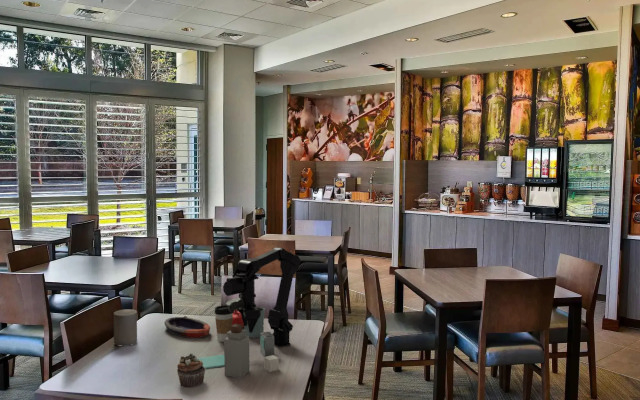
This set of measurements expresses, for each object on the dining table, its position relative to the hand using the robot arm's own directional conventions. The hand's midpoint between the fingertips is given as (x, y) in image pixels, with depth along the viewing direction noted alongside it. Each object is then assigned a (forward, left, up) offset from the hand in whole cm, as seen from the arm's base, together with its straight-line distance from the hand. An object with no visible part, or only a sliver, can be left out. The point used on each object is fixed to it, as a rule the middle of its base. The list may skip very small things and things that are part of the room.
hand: (247, 329), depth 210 cm
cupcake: (+25, +19, -11) cm, 33 cm away
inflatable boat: (+19, -41, -12) cm, 47 cm away
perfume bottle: (+8, +16, -11) cm, 21 cm away
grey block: (-5, +17, -11) cm, 21 cm away
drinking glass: (-9, -26, -11) cm, 30 cm away
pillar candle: (+46, -36, -11) cm, 60 cm away
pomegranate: (-4, -40, -11) cm, 42 cm away
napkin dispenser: (-8, +1, -11) cm, 14 cm away
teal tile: (+14, +2, -11) cm, 18 cm away
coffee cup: (+5, -24, -11) cm, 27 cm away
